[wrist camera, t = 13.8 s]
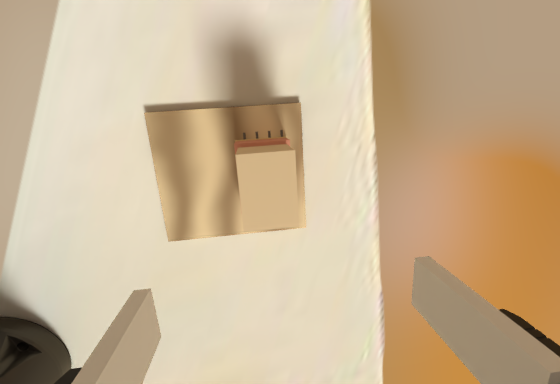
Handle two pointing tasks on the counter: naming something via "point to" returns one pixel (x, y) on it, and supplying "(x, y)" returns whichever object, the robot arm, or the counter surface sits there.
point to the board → (214, 164)
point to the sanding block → (267, 183)
